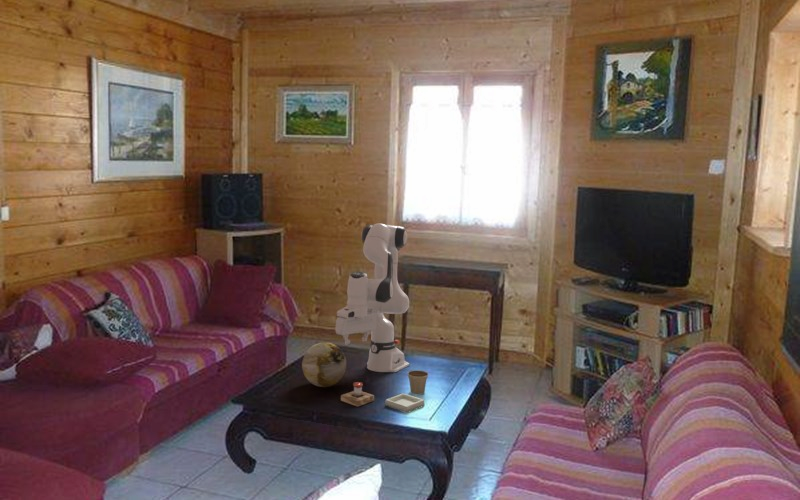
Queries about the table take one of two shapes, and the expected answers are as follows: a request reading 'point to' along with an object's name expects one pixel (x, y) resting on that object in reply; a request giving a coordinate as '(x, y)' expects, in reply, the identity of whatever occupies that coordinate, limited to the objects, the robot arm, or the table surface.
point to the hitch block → (357, 401)
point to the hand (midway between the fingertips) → (356, 342)
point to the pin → (357, 389)
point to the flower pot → (417, 381)
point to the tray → (404, 402)
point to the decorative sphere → (324, 364)
